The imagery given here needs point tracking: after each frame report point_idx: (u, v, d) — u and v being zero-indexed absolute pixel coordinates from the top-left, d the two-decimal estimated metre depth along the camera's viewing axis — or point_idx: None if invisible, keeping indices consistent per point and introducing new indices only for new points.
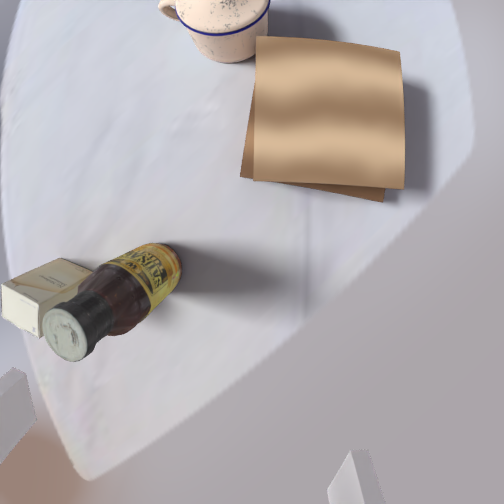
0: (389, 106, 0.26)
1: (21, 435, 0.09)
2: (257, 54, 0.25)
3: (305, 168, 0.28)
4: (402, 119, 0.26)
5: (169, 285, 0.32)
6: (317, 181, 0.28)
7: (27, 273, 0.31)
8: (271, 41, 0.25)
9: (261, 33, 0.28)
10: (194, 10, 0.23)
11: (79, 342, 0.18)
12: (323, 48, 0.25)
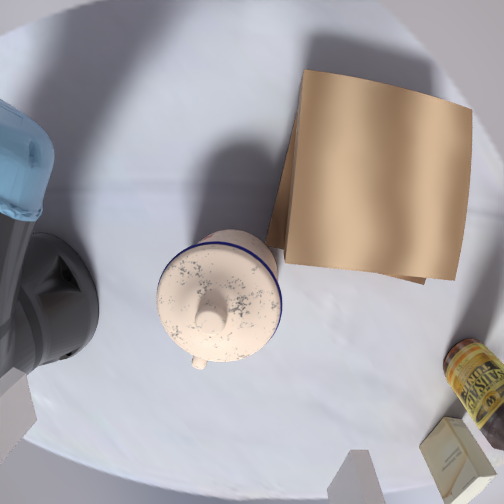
0: (386, 103, 0.20)
1: (21, 435, 0.09)
2: (313, 264, 0.23)
3: (452, 222, 0.21)
4: (400, 89, 0.20)
5: (495, 358, 0.25)
6: (465, 210, 0.21)
7: (437, 481, 0.27)
8: (295, 244, 0.23)
9: (257, 246, 0.26)
10: (242, 344, 0.22)
11: None
12: (309, 176, 0.22)
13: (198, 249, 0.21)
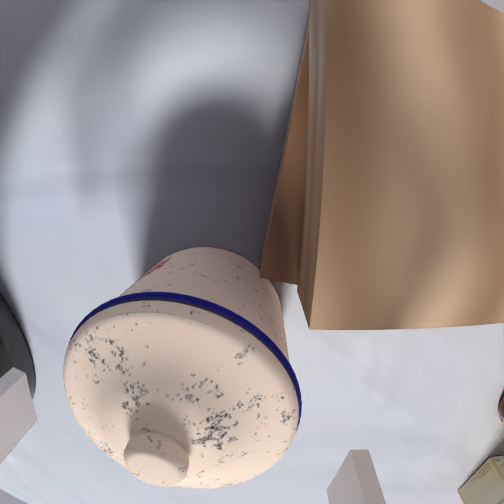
0: (469, 21, 0.08)
1: (21, 435, 0.09)
2: (365, 325, 0.11)
3: None
4: (483, 6, 0.08)
5: None
6: None
7: None
8: (330, 291, 0.10)
9: (246, 282, 0.14)
10: (228, 475, 0.10)
11: None
12: (356, 143, 0.09)
13: (116, 313, 0.09)
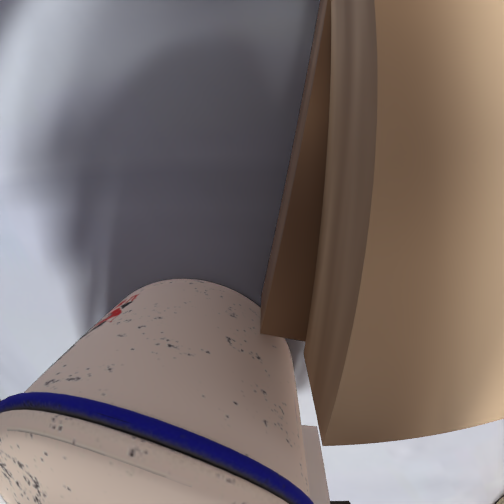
0: None
1: None
2: (410, 433, 0.06)
3: None
4: None
5: None
6: None
7: None
8: (365, 394, 0.05)
9: (242, 346, 0.09)
10: None
11: None
12: (434, 129, 0.04)
13: (18, 427, 0.04)
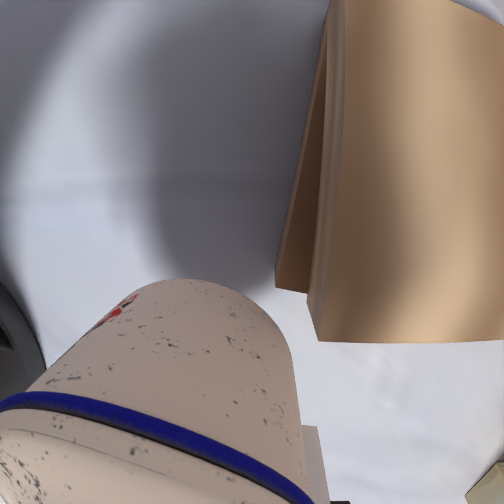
0: (484, 42, 0.08)
1: None
2: (372, 339, 0.11)
3: None
4: (498, 26, 0.08)
5: None
6: None
7: None
8: (340, 304, 0.11)
9: (242, 346, 0.09)
10: None
11: None
12: (371, 162, 0.10)
13: (19, 426, 0.04)
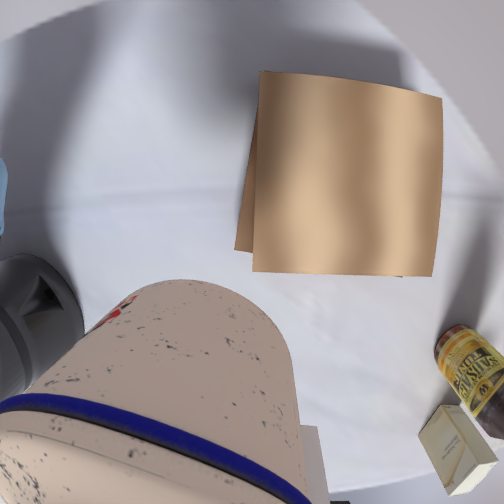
0: (348, 99, 0.20)
1: None
2: (281, 270, 0.23)
3: (425, 217, 0.22)
4: (363, 84, 0.20)
5: (486, 344, 0.26)
6: (439, 204, 0.21)
7: (438, 470, 0.28)
8: (261, 252, 0.22)
9: (241, 347, 0.09)
10: None
11: None
12: (271, 182, 0.21)
13: (18, 428, 0.04)
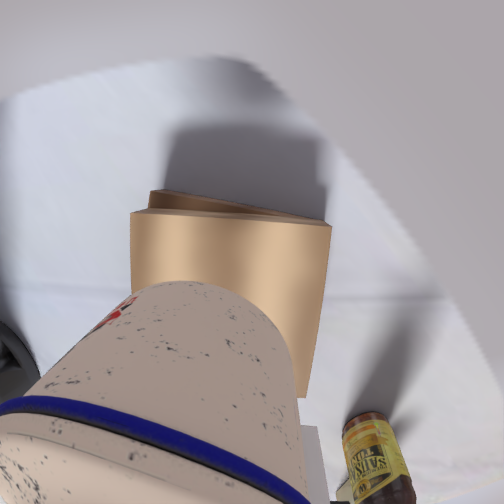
0: (214, 240, 0.22)
1: None
2: None
3: (297, 350, 0.24)
4: (232, 221, 0.22)
5: (385, 440, 0.28)
6: (314, 339, 0.23)
7: None
8: None
9: (241, 349, 0.09)
10: None
11: None
12: None
13: (18, 431, 0.04)
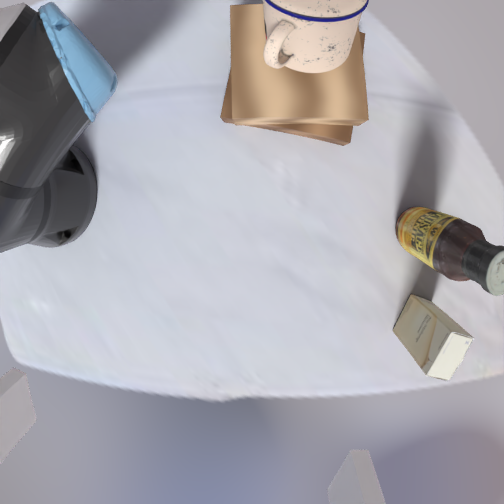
0: None
1: (21, 435, 0.09)
2: (252, 116, 0.31)
3: (353, 78, 0.29)
4: None
5: None
6: (363, 70, 0.29)
7: (413, 354, 0.35)
8: (237, 105, 0.30)
9: None
10: None
11: None
12: (240, 63, 0.29)
13: None
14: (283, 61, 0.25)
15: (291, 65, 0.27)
